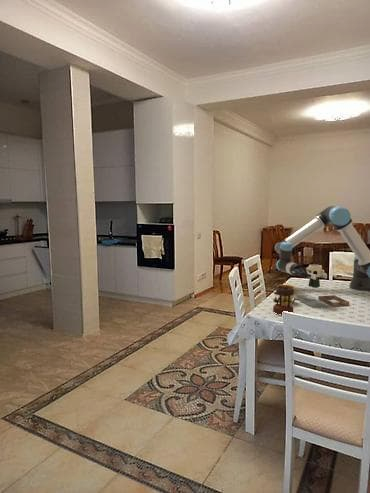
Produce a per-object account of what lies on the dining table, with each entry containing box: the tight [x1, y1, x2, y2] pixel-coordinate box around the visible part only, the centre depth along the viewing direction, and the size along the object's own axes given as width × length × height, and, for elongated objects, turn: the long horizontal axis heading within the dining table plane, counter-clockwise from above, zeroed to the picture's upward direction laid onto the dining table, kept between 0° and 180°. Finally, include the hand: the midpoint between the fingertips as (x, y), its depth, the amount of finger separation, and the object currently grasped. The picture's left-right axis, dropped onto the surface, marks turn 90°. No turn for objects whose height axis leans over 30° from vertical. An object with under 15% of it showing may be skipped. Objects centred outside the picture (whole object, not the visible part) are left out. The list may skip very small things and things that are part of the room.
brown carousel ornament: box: [277, 283, 297, 305], centre depth 207 cm, size 10×10×10 cm
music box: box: [272, 276, 301, 316], centre depth 187 cm, size 15×11×20 cm
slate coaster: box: [299, 298, 329, 308], centre depth 206 cm, size 10×14×1 cm
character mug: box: [305, 264, 325, 289], centre depth 203 cm, size 11×7×13 cm, turn 43°
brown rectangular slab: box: [317, 294, 350, 307], centre depth 208 cm, size 11×15×2 cm
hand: (320, 276), depth 199 cm, fingers closed on character mug, 7 cm apart
